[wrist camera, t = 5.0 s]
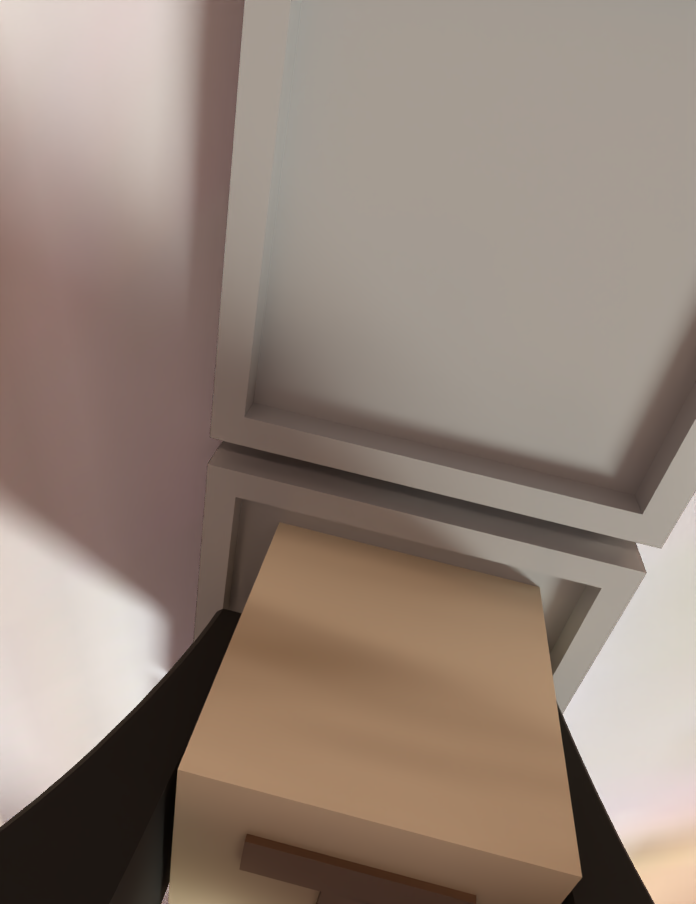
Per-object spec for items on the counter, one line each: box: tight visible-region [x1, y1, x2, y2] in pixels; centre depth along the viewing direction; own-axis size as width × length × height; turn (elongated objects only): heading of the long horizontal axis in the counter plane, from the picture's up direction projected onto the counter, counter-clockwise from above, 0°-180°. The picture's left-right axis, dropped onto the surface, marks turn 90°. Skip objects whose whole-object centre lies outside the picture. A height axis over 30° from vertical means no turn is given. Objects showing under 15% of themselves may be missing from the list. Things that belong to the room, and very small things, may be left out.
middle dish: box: [193, 441, 646, 714], centre depth 12 cm, size 7×7×1 cm
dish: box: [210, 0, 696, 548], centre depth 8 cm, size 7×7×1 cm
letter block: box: [168, 522, 582, 904], centre depth 10 cm, size 5×5×5 cm
